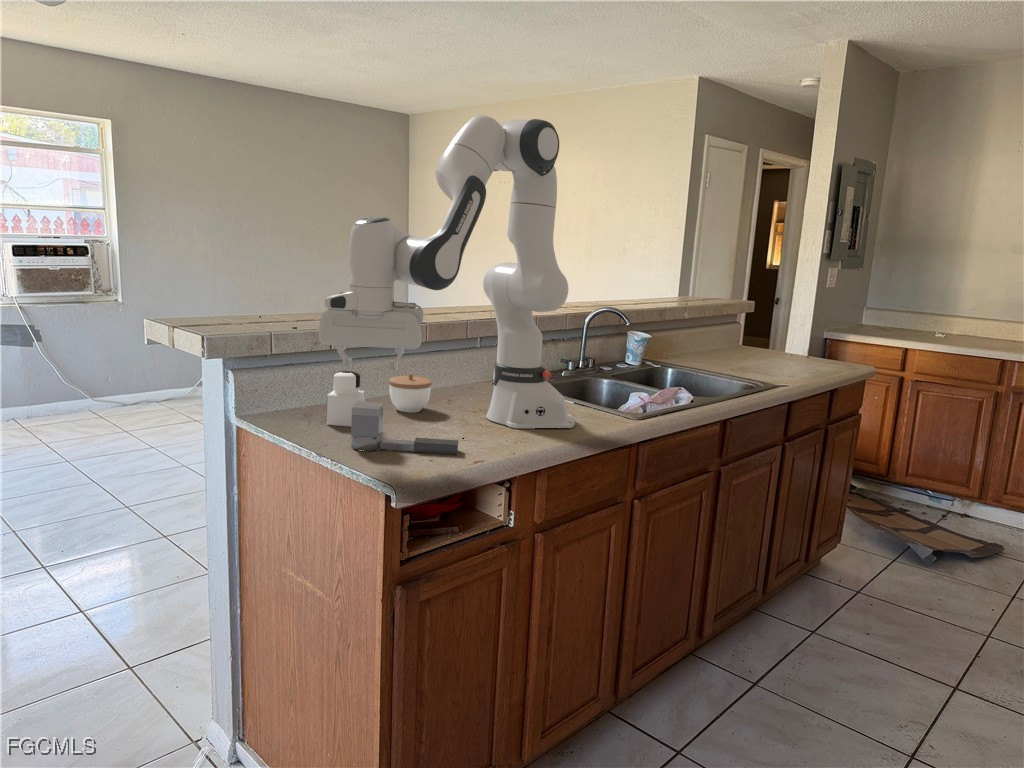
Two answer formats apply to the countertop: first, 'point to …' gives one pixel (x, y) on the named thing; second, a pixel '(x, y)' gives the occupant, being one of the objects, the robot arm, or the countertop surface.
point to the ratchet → (406, 445)
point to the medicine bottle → (343, 398)
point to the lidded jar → (409, 392)
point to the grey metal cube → (367, 419)
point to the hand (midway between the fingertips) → (370, 368)
